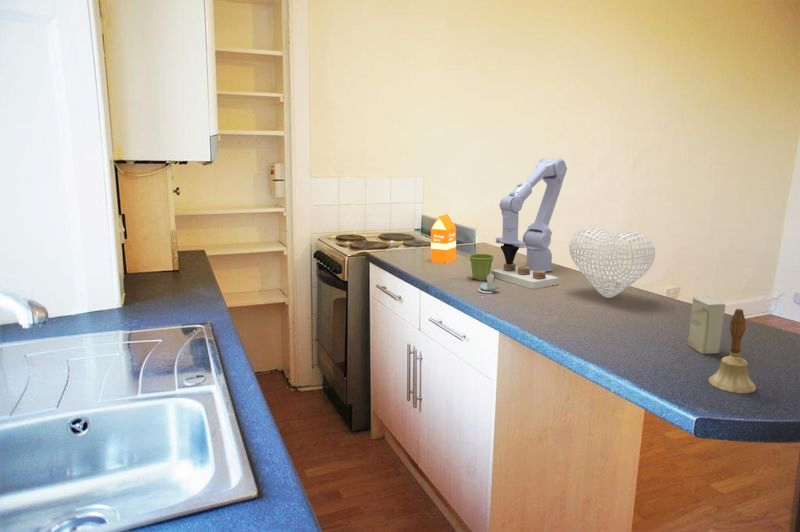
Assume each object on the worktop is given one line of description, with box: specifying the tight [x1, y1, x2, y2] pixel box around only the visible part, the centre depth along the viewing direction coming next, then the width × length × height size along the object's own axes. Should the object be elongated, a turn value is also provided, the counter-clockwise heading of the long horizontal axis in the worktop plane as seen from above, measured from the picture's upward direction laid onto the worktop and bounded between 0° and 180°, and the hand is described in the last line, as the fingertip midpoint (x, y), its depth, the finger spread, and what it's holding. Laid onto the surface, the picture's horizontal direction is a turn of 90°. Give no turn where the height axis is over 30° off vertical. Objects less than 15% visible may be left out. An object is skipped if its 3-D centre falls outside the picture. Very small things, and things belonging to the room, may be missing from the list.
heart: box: [568, 225, 656, 299], centre depth 175 cm, size 28×16×22 cm, turn 31°
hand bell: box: [708, 308, 757, 395], centre depth 110 cm, size 8×8×16 cm
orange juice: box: [430, 213, 457, 264], centre depth 238 cm, size 8×9×20 cm
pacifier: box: [477, 273, 500, 295], centre depth 187 cm, size 7×6×6 cm
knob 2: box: [533, 270, 546, 279], centre depth 195 cm, size 4×4×5 cm
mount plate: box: [490, 266, 560, 290], centre depth 202 cm, size 12×23×2 cm, turn 29°
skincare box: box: [687, 296, 726, 355], centre depth 130 cm, size 6×4×12 cm
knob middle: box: [518, 265, 530, 275], centre depth 202 cm, size 4×4×5 cm
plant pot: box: [468, 253, 495, 281], centre depth 206 cm, size 9×9×9 cm
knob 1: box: [503, 262, 517, 271], centre depth 209 cm, size 4×4×5 cm
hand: (509, 264), depth 208 cm, fingers closed, pressing on knob 1
